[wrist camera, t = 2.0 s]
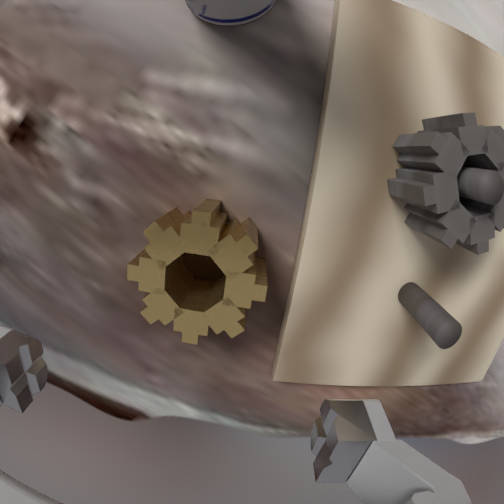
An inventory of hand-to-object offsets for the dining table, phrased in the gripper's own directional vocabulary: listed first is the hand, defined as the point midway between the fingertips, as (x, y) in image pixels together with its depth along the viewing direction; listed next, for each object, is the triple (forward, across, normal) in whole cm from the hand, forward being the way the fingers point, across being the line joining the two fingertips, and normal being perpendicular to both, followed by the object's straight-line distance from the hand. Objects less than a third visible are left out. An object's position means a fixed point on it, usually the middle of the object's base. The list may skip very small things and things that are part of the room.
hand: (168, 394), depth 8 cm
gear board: (+11, -13, -5) cm, 18 cm away
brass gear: (+11, +1, 0) cm, 11 cm away
